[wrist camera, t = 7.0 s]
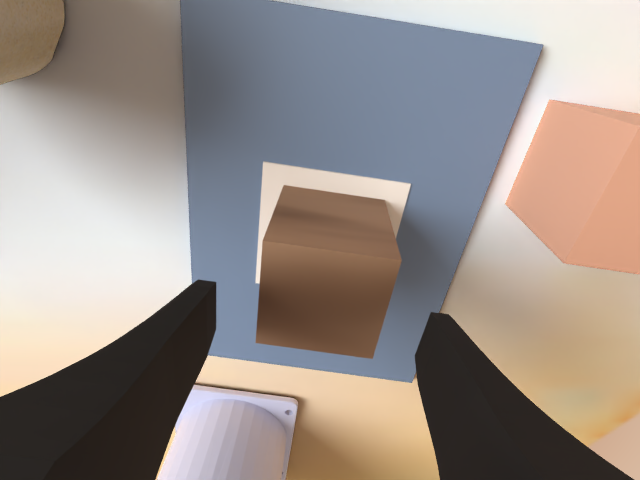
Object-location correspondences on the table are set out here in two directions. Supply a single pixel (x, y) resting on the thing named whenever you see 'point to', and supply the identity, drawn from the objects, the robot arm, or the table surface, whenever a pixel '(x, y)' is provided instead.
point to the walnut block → (326, 272)
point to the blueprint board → (339, 150)
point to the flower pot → (28, 36)
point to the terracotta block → (583, 186)
